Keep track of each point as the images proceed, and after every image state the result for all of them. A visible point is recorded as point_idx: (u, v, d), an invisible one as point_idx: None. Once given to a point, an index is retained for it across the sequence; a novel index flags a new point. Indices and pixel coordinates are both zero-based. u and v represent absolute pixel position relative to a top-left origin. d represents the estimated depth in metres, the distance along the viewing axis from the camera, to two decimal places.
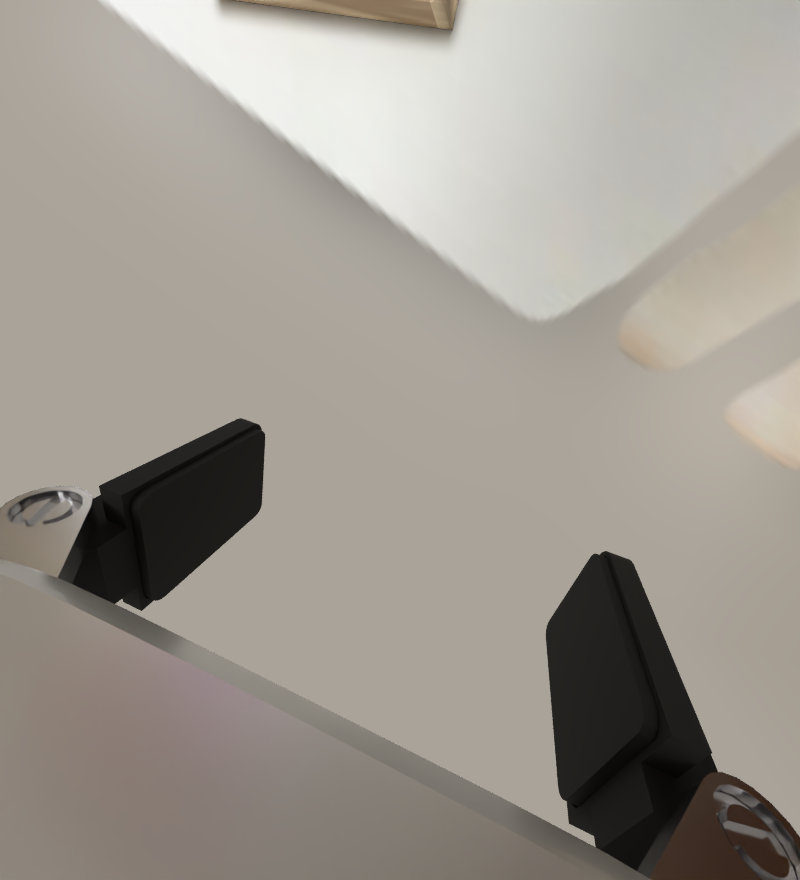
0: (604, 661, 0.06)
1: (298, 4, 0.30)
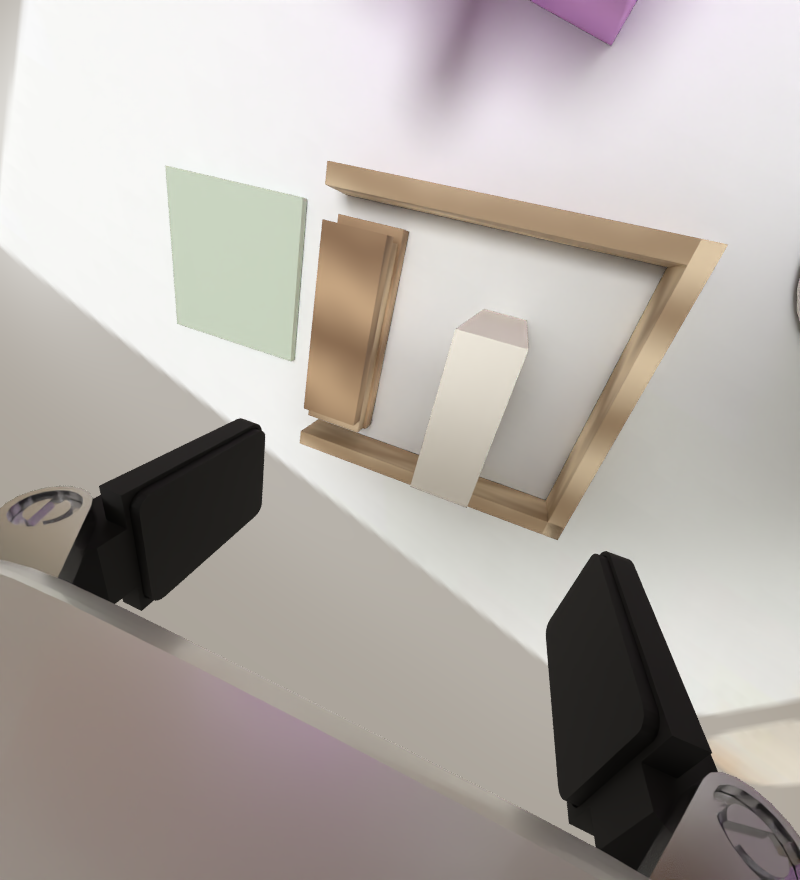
0: (604, 661, 0.06)
1: None
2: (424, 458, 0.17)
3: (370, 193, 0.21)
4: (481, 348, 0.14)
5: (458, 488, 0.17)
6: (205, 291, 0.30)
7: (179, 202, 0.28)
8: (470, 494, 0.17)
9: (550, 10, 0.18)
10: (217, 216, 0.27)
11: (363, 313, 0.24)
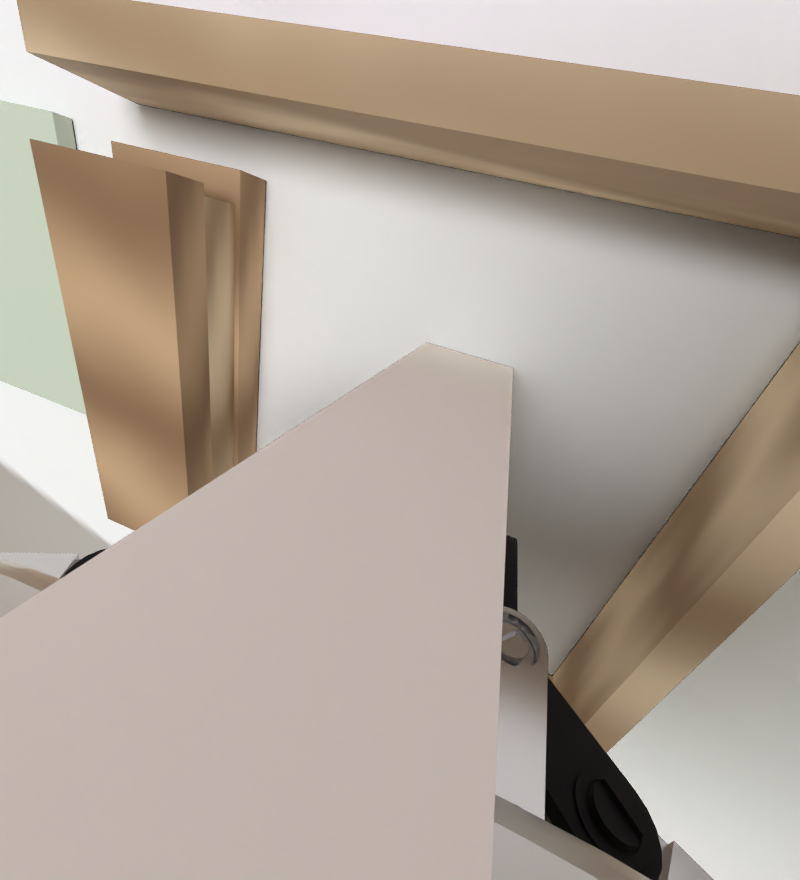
0: None
1: None
2: None
3: (122, 66, 0.09)
4: None
5: None
6: None
7: None
8: None
9: None
10: None
11: (160, 355, 0.11)
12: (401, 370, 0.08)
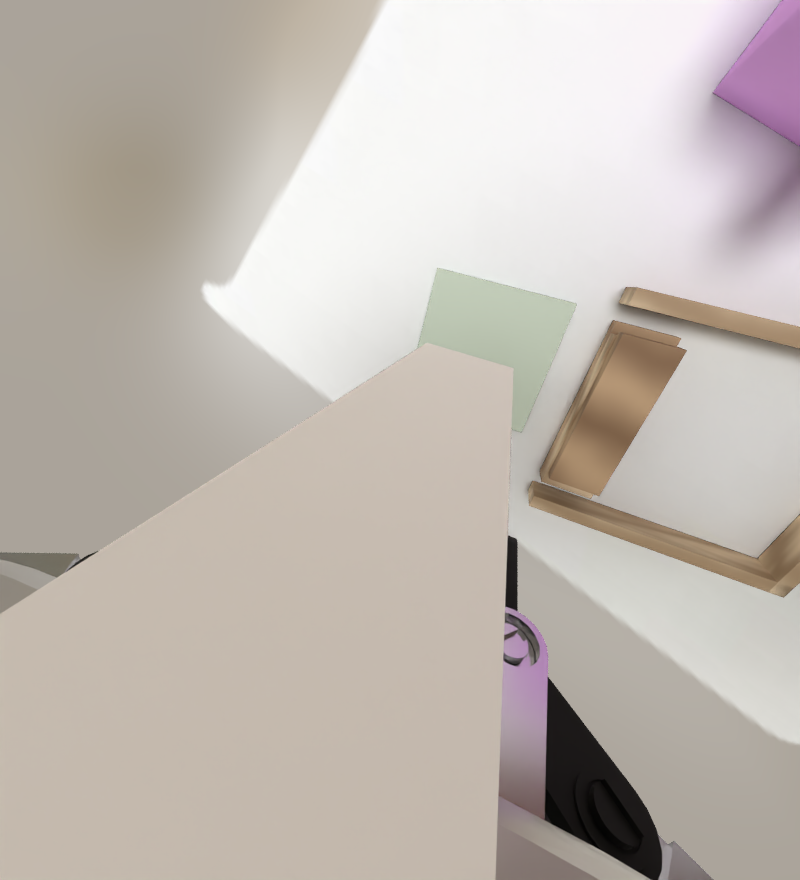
0: None
1: None
2: None
3: (673, 315, 0.25)
4: None
5: None
6: None
7: (442, 297, 0.32)
8: None
9: None
10: (480, 311, 0.31)
11: (641, 408, 0.28)
12: (402, 369, 0.08)
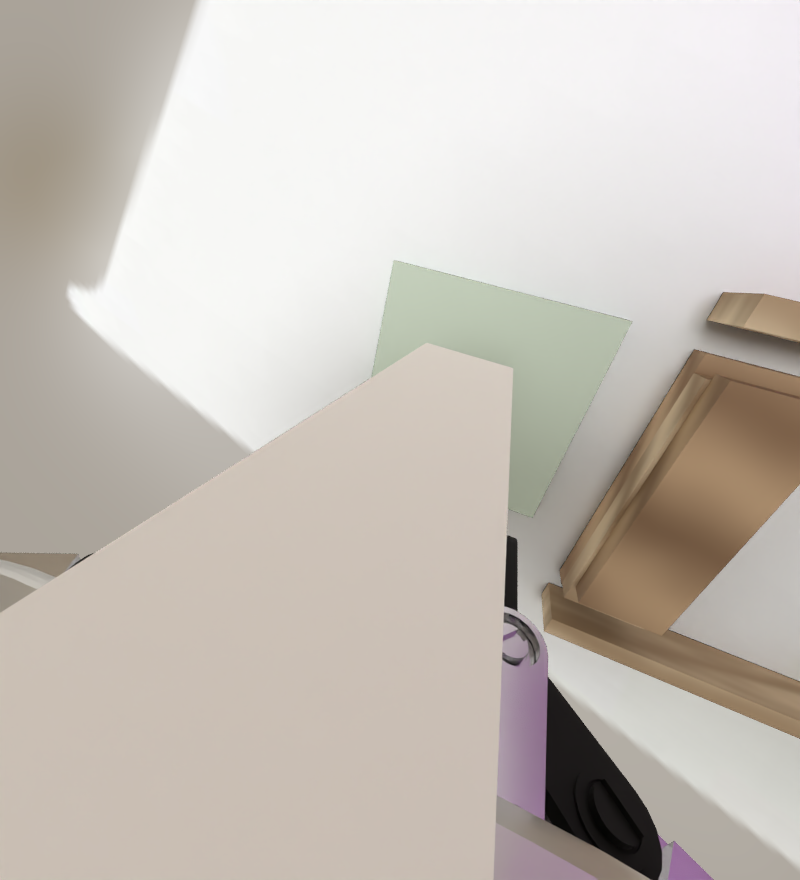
0: None
1: None
2: None
3: None
4: None
5: None
6: None
7: (404, 309, 0.19)
8: None
9: None
10: (465, 332, 0.19)
11: (752, 511, 0.15)
12: (402, 369, 0.08)
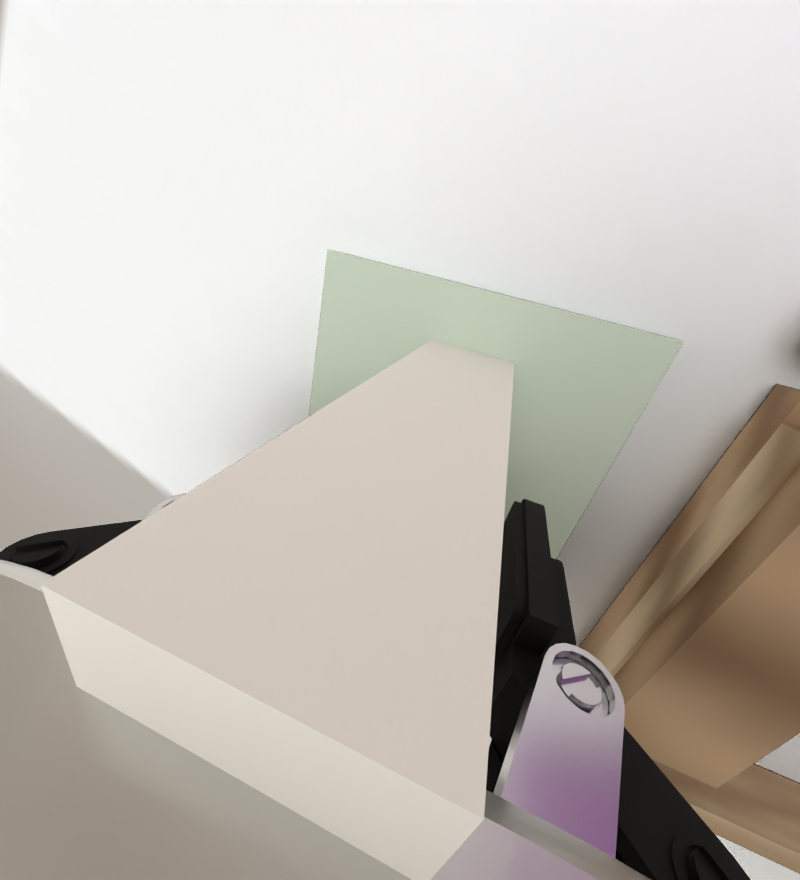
0: (504, 579, 0.08)
1: None
2: None
3: None
4: (201, 707, 0.02)
5: None
6: None
7: (346, 320, 0.13)
8: None
9: None
10: None
11: None
12: (412, 362, 0.09)
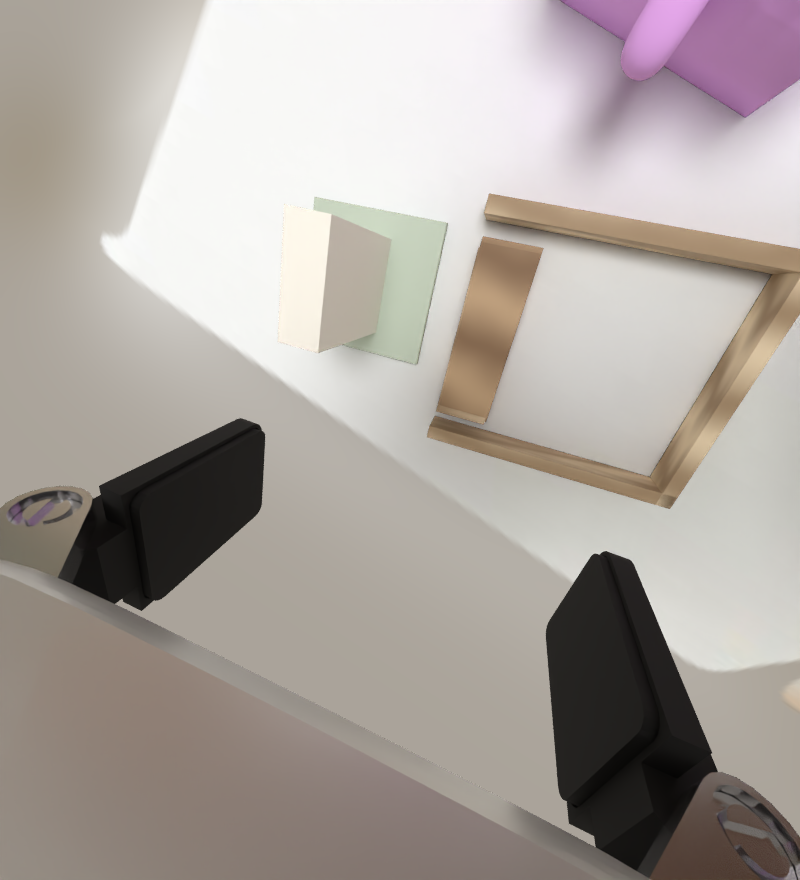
0: (604, 661, 0.06)
1: None
2: (282, 315, 0.23)
3: (525, 219, 0.26)
4: (302, 217, 0.20)
5: (309, 337, 0.23)
6: None
7: None
8: (318, 340, 0.23)
9: (699, 86, 0.23)
10: None
11: (509, 319, 0.28)
12: None
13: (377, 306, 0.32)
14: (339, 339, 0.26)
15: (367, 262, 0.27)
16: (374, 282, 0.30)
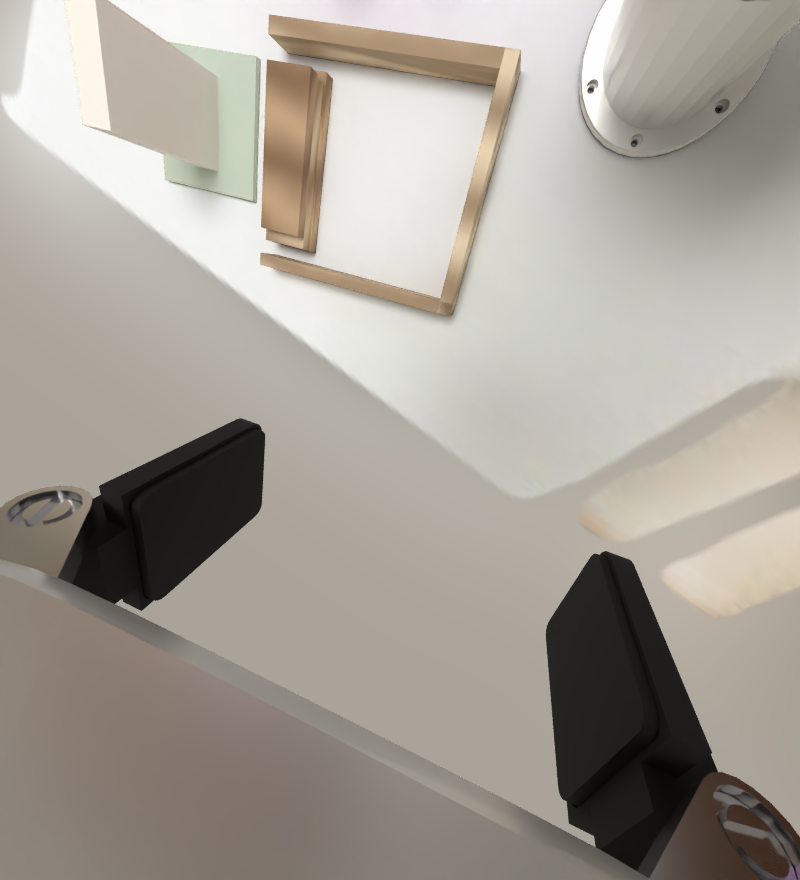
0: (604, 661, 0.06)
1: None
2: (80, 96, 0.29)
3: (299, 37, 0.31)
4: None
5: (102, 115, 0.29)
6: None
7: None
8: (108, 118, 0.29)
9: None
10: None
11: (299, 134, 0.33)
12: None
13: (211, 141, 0.38)
14: (147, 138, 0.32)
15: (176, 79, 0.32)
16: (198, 109, 0.35)
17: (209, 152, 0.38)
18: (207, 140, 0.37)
